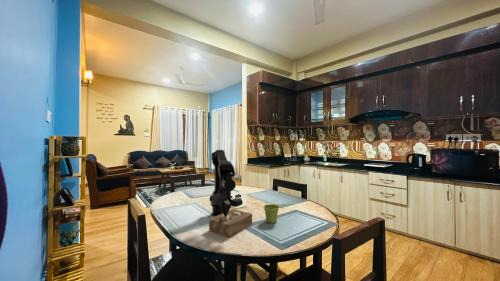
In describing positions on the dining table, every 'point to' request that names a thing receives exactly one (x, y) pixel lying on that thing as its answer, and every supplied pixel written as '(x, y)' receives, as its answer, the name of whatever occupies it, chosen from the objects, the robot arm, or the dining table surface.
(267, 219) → the plant pot
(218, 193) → the robot arm
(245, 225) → the jig block
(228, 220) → the peg near
